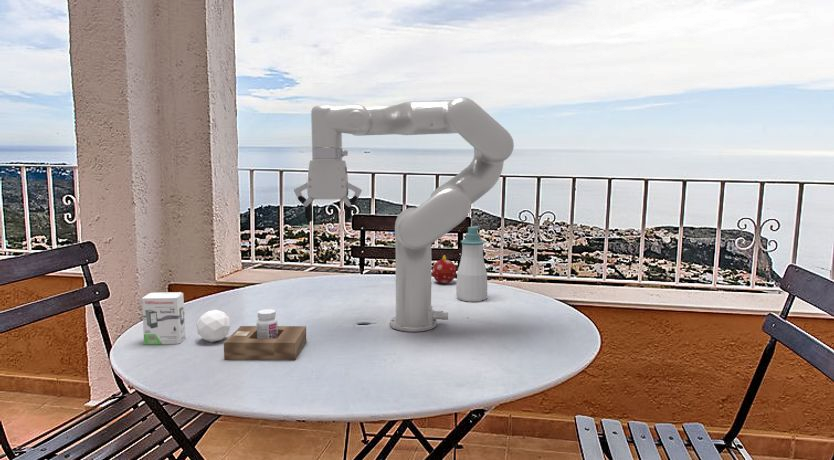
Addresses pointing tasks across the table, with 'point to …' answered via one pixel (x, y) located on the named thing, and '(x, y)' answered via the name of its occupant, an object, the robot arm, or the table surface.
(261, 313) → the pill bottle
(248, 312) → the table surface
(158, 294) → the ink box
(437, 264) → the christmas ornament
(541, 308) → the table surface
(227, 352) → the brown flat recessed slab
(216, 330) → the geometric ball
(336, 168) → the robot arm
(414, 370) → the table surface
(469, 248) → the soap bottle
